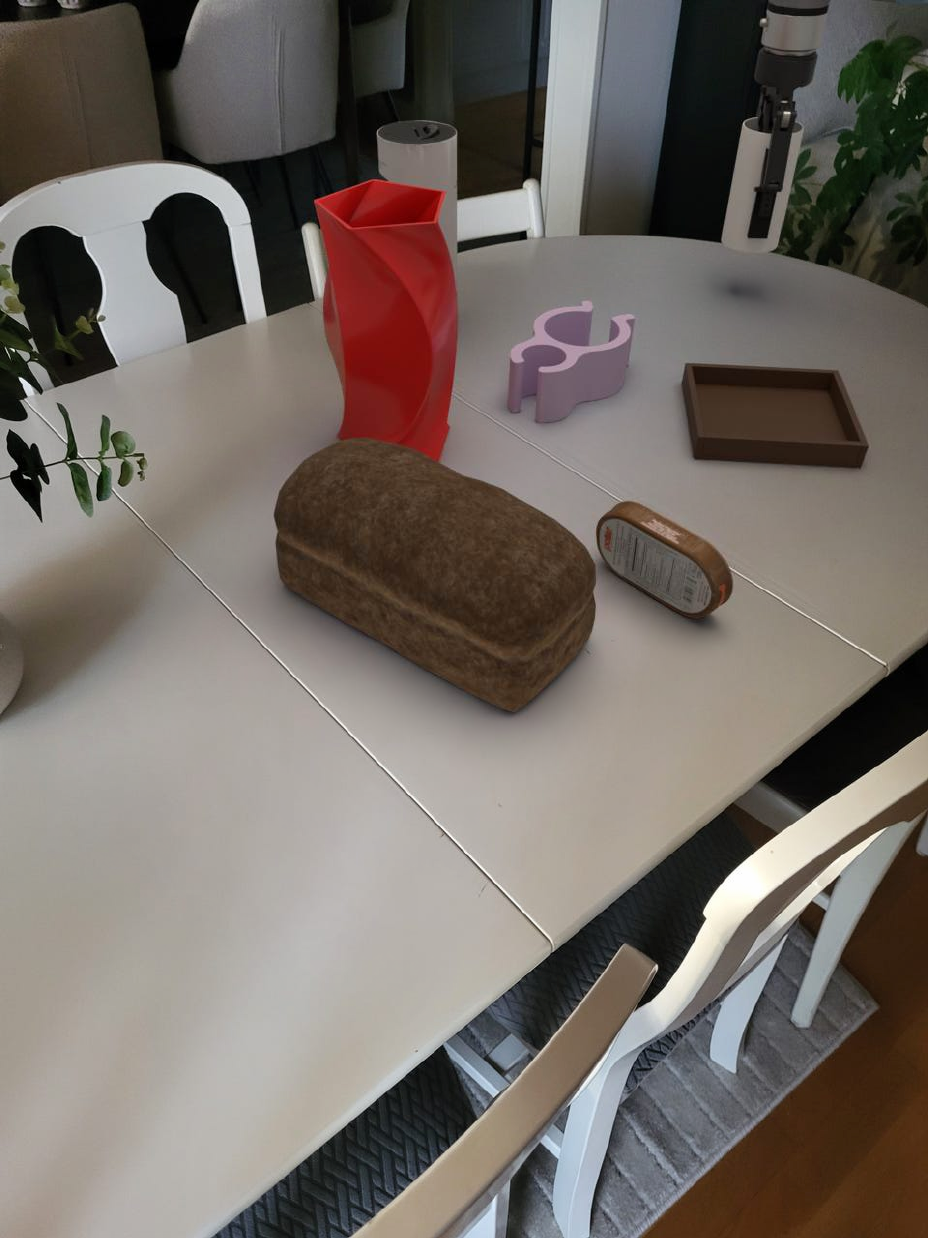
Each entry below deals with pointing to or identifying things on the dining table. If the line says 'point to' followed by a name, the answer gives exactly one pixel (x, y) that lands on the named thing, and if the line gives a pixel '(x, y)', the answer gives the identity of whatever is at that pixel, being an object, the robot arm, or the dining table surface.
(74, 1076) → the dining table surface
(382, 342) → the vase
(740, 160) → the cup
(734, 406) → the tray
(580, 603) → the bread
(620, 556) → the tin
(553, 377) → the clip
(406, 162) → the speaker
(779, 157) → the robot arm
